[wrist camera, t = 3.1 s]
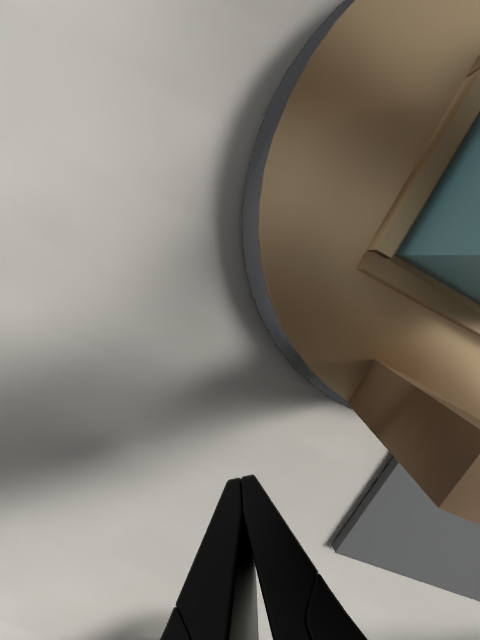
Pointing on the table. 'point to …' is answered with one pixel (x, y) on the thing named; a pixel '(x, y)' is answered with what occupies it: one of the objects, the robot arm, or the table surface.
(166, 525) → the table surface
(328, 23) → the turntable base
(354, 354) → the turntable
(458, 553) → the mat
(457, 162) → the blue cube with post
